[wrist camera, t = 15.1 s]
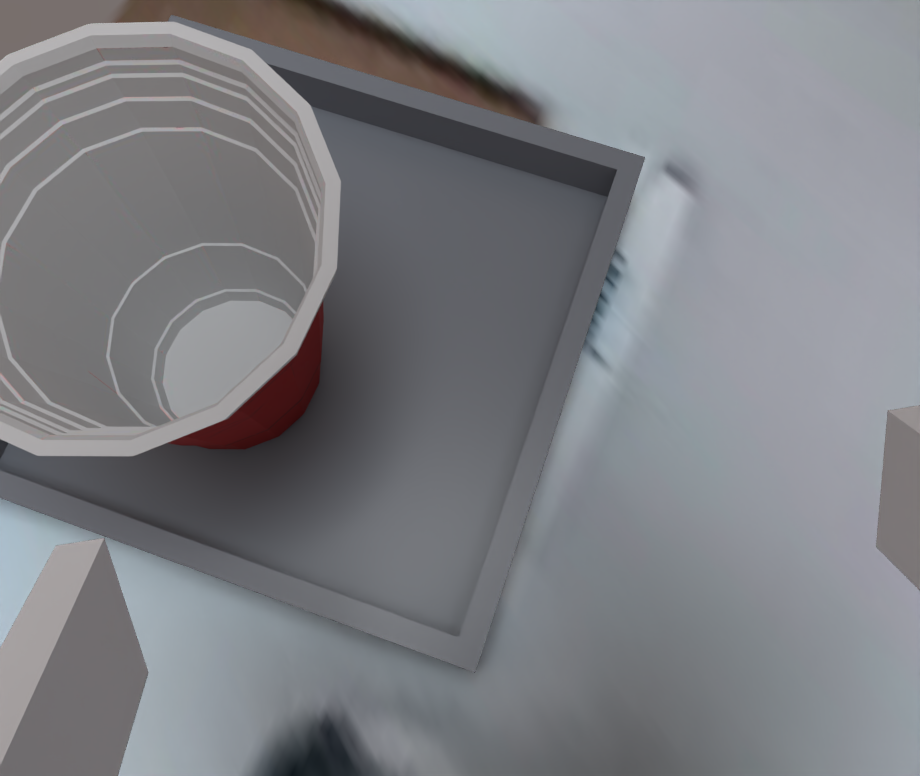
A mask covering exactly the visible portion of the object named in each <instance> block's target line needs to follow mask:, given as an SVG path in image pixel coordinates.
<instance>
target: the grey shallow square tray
mask: <svg viewBox="0 0 920 776" xmlns="http://www.w3.org/2000/svg"><path fill="white" fill-rule="evenodd" d="M168 22H177V23H180V24H182V25H185V26H188V27H191V28H193V29H196V30H199V31H202V32H204V33H207V34H210V35H213V36H215V37H218V38H221V39H224V40H226V41H229V42H232V43H235V44H237V45H240V46H243V47H246V48H249V49H251V50H253V51H254V52H255V53H256V54H257V55H258V56H259V57H260V58H261V59H262V60H263V61H264V62H265V63H266V64H267V65H268V66H270V67H271V68H272V69H273V70H274V71H275V72H276V73H277V74H278V75H279V76H280V77H281V78H282V79H283V80H284V81H285V82H286V83H288V84H289V85H290V86H291V87H292V88H293V89H294V90H295V91H296V92H297V93H298V94H299V95H300V96H301V97H302V98H303V99H305V100H306V101H307V102H308V103H309V104H310V105H311V108H312V110H313V113H314V115H315V118H316V120H317V123H318V125H319V128H320V130H321V133H322V135H323V138H324V140H325V143H326V145H327V148H328V150H329V153H330V155H331V158H332V160H333V163H334V165H335V168H336V170H337V173H338V175H339V178H340V180H341V191H340V213H339V235H338V256H337V270H336V275H335V277H334V279H333V281H332V283H331V285H330V287H329V289H328V291H327V293H326V295H325V297H324V300H323V313H324V323H323V339H322V355H321V364H320V380H319V385H318V387H317V389H316V391H315V393H314V395H313V397H312V399H311V401H310V403H309V405H308V407H307V409H306V411H305V413H304V414H303V415H302V416H301V417H300V418H299V419H298V420H297V421H296V422H295V423H293V424H292V425H291V426H290V427H289V428H288V429H287V430H286V431H284V432H283V433H282V434H281V435H280V436H279V437H276V438H274V439H271V440H268V441H266V442H263V443H261V444H258V445H255V446H253V447H250V448H247V449H245V450H243V449H207V448H203V447H199V446H181V445H175V444H168V443H166V444H163V445H161V446H158V447H156V448H153V449H151V450H148V451H146V452H143V453H141V454H138V455H135V456H37V455H34V454H32V453H30V452H28V451H26V450H23V449H21V448H19V447H17V446H14V445H12V444H10V443H8V442H6V441H3V440H1V439H0V498H2V499H5V500H7V501H10V502H13V503H16V504H18V505H21V506H24V507H26V508H29V509H32V510H35V511H37V512H40V513H43V514H45V515H48V516H51V517H54V518H56V519H59V520H62V521H64V522H67V523H70V524H73V525H75V526H78V527H81V528H83V529H86V530H89V531H92V532H94V533H97V534H100V535H102V536H105V537H108V538H111V539H113V540H116V541H119V542H121V543H124V544H127V545H130V546H132V547H135V548H138V549H140V550H143V551H146V552H149V553H151V554H154V555H157V556H159V557H162V558H165V559H168V560H170V561H173V562H176V563H178V564H181V565H184V566H187V567H189V568H192V569H195V570H197V571H200V572H203V573H206V574H208V575H211V576H214V577H216V578H219V579H222V580H225V581H227V582H230V583H233V584H235V585H238V586H241V587H244V588H246V589H249V590H252V591H254V592H257V593H260V594H263V595H265V596H268V597H271V598H273V599H276V600H279V601H282V602H284V603H287V604H290V605H292V606H295V607H298V608H301V609H303V610H306V611H309V612H311V613H314V614H317V615H320V616H322V617H325V618H328V619H330V620H333V621H336V622H339V623H341V624H344V625H347V626H349V627H352V628H355V629H358V630H360V631H363V632H366V633H368V634H371V635H374V636H377V637H379V638H382V639H385V640H387V641H390V642H393V643H395V644H398V645H401V646H404V647H406V648H409V649H412V650H414V651H417V652H420V653H423V654H425V655H428V656H431V657H433V658H436V659H439V660H442V661H444V662H447V663H450V664H452V665H455V666H458V667H461V668H463V669H466V670H469V671H471V672H474V673H475V672H476V669H477V666H478V663H479V660H480V657H481V654H482V651H483V648H484V644H485V641H486V638H487V635H488V632H489V629H490V626H491V623H492V620H493V617H494V614H495V611H496V608H497V605H498V602H499V599H500V596H501V593H502V590H503V587H504V584H505V581H506V578H507V575H508V572H509V569H510V566H511V563H512V560H513V557H514V554H515V551H516V547H517V544H518V541H519V538H520V535H521V532H522V529H523V526H524V523H525V520H526V517H527V514H528V511H529V508H530V505H531V502H532V499H533V496H534V493H535V490H536V487H537V484H538V481H539V478H540V475H541V472H542V469H543V466H544V463H545V460H546V457H547V453H548V450H549V447H550V444H551V441H552V438H553V435H554V432H555V429H556V426H557V423H558V420H559V417H560V414H561V411H562V408H563V405H564V402H565V399H566V396H567V393H568V390H569V387H570V384H571V381H572V378H573V375H574V372H575V369H576V366H577V363H578V359H579V356H580V353H581V350H582V347H583V344H584V341H585V338H586V335H587V332H588V329H589V326H590V323H591V320H592V317H593V314H594V311H595V308H596V305H597V302H598V299H599V296H600V293H601V290H602V287H603V284H604V281H605V278H606V275H607V272H608V269H609V265H610V262H611V259H612V256H613V253H614V250H615V247H616V244H617V241H618V238H619V235H620V232H621V229H622V226H623V223H624V220H625V217H626V214H627V211H628V208H629V205H630V202H631V199H632V196H633V193H634V190H635V187H636V184H637V181H638V178H639V175H640V171H641V168H642V165H643V162H644V159H645V157H642V156H639V155H636V154H633V153H629V152H626V151H623V150H619V149H616V148H613V147H609V146H606V145H603V144H599V143H596V142H593V141H589V140H586V139H583V138H579V137H576V136H573V135H569V134H566V133H563V132H559V131H556V130H553V129H549V128H546V127H543V126H539V125H536V124H533V123H529V122H526V121H523V120H519V119H516V118H513V117H509V116H506V115H503V114H499V113H496V112H493V111H489V110H486V109H483V108H479V107H476V106H473V105H469V104H466V103H463V102H459V101H456V100H453V99H449V98H446V97H443V96H439V95H436V94H433V93H430V92H426V91H423V90H420V89H416V88H413V87H410V86H406V85H403V84H400V83H396V82H393V81H390V80H386V79H383V78H380V77H376V76H373V75H370V74H366V73H363V72H360V71H356V70H353V69H350V68H346V67H343V66H340V65H336V64H333V63H330V62H326V61H323V60H320V59H316V58H313V57H310V56H306V55H303V54H300V53H296V52H293V51H290V50H286V49H283V48H280V47H276V46H273V45H270V44H266V43H263V42H260V41H256V40H253V39H250V38H246V37H243V36H240V35H236V34H233V33H230V32H227V31H223V30H220V29H217V28H213V27H210V26H207V25H203V24H200V23H197V22H193V21H190V20H187V19H183V18H180V17H177V16H173V15H171V17H170V18H169V20H168Z"/></svg>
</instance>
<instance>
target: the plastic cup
mask: <svg viewBox="0 0 920 776" xmlns="http://www.w3.org/2000/svg"><path fill="white" fill-rule="evenodd" d="M340 191H341V180H340V178H339V175H338V173H337V170H336V168H335V165H334V163H333V160H332V158H331V155H330V153H329V150H328V148H327V145H326V143H325V140H324V138H323V135H322V133H321V130H320V128H319V125H318V123H317V120H316V118H315V115H314V113H313V110H312V108H311V105H310V104H309V103H308V102H307V101H306V100H305V99H303V98H302V97H301V96H300V95H299V94H298V93H297V92H296V91H295V90H294V89H293V88H292V87H291V86H290V85H289V84H288V83H286V82H285V81H284V80H283V79H282V78H281V77H280V76H279V75H278V74H277V73H276V72H275V71H274V70H273V69H272V68H271V67H270V66H268V65H267V64H266V63H265V62H264V61H263V60H262V59H261V58H260V57H259V56H258V55H257V54H256V53H255V52H254V51H253V50H251V49H249V48H246V47H243V46H240V45H237V44H235V43H232V42H229V41H226V40H224V39H221V38H218V37H215V36H213V35H210V34H207V33H204V32H202V31H199V30H196V29H193V28H191V27H188V26H185V25H182V24H180V23H177V22H138V23H95V24H87V25H85V26H82V27H79V28H77V29H74V30H71V31H69V32H66V33H63V34H61V35H58V36H56V37H53V38H50V39H48V40H45V41H42V42H40V43H37V44H35V45H32V46H29V47H27V48H24V49H21V50H19V51H16V52H14V53H11V54H8V55H7V56H5V57H4V58H3V59H2V60H1V61H0V439H1V440H3V441H6V442H8V443H10V444H12V445H14V446H17V447H19V448H21V449H23V450H26V451H28V452H30V453H32V454H34V455H37V456H135V455H138V454H141V453H143V452H146V451H148V450H151V449H153V448H156V447H158V446H161V445H163V444H166V443H168V444H175V445H181V446H199V447H203V448H207V449H243V450H245V449H247V448H250V447H253V446H255V445H258V444H261V443H263V442H266V441H268V440H271V439H274V438H276V437H279V436H280V435H281V434H282V433H283V432H284V431H286V430H287V429H288V428H289V427H290V426H291V425H292V424H293V423H295V422H296V421H297V420H298V419H299V418H300V417H301V416H302V415H303V414H304V413H305V411H306V409H307V407H308V405H309V403H310V401H311V399H312V397H313V395H314V393H315V391H316V389H317V387H318V385H319V380H320V364H321V355H322V339H323V323H324V313H323V300H324V297H325V295H326V293H327V291H328V289H329V287H330V285H331V283H332V281H333V279H334V277H335V275H336V270H337V256H338V235H339V213H340Z"/></svg>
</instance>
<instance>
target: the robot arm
mask: <svg viewBox="0 0 920 776" xmlns="http://www.w3.org/2000/svg"><path fill="white" fill-rule="evenodd" d="M876 547H877V548H878V549H879V550H880V551H881V552H882V553H883V554H884V555H885V556H886V557H887V558H888V559H889V560H890V561H891V562H892V563H893V564H894V565H895V566H896V567H897V568H898V569H899V570H900V571H901V572H902V573H903V574H904V575H905V576H906V577H907V578H908V579H909V580H910V581H911V582H912V583H913V584H914V585H915V586H916V587H917V588H918V589H919V590H920V405H919V406H913V407H907V408H900V409H894V410H888V414H887V425H886V437H885V448H884V459H883V471H882V482H881V494H880V505H879V517H878V528H877V540H876ZM147 676H148V670H147V667H146V664H145V661H144V658H143V654H142V651H141V648H140V645H139V642H138V639H137V636H136V633H135V630H134V627H133V624H132V621H131V618H130V615H129V612H128V609H127V606H126V603H125V600H124V596H123V593H122V590H121V587H120V584H119V581H118V578H117V575H116V572H115V569H114V566H113V563H112V560H111V557H110V554H109V551H108V548H107V545H106V542H105V539H104V538H101V539H94V540H88V541H82V542H76V543H70V544H64V545H57V546H55V548H54V550H53V552H52V553H51V555H50V557H49V559H48V561H47V563H46V565H45V566H44V568H43V570H42V572H41V574H40V576H39V577H38V579H37V581H36V583H35V585H34V587H33V589H32V590H31V592H30V594H29V596H28V598H27V600H26V601H25V603H24V605H23V607H22V609H21V611H20V613H19V614H18V616H17V618H16V620H15V622H14V624H13V625H12V627H11V629H10V631H9V633H8V635H7V637H6V638H5V640H4V642H3V644H2V646H1V648H0V776H118V774H119V770H120V767H121V763H122V760H123V757H124V753H125V750H126V747H127V743H128V740H129V736H130V733H131V730H132V726H133V723H134V720H135V716H136V713H137V709H138V706H139V703H140V699H141V696H142V693H143V689H144V686H145V682H146V679H147Z"/></svg>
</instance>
